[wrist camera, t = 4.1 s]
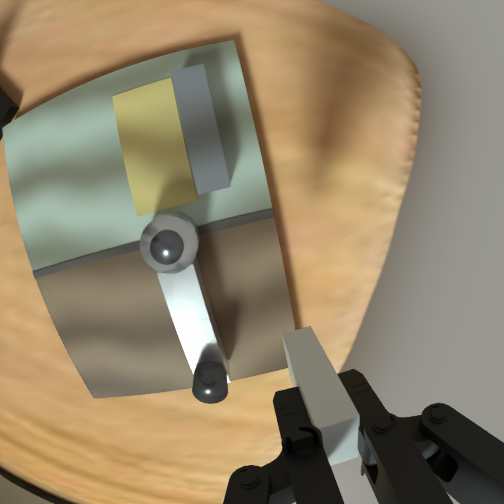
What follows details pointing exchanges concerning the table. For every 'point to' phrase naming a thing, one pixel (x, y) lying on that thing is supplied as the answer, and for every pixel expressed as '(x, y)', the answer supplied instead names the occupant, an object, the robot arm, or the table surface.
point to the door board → (150, 218)
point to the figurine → (6, 110)
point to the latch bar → (188, 300)
